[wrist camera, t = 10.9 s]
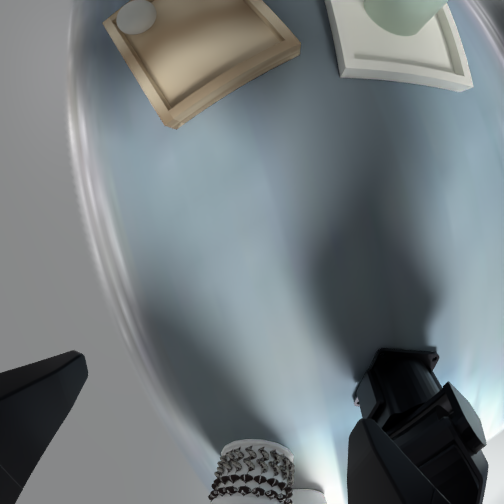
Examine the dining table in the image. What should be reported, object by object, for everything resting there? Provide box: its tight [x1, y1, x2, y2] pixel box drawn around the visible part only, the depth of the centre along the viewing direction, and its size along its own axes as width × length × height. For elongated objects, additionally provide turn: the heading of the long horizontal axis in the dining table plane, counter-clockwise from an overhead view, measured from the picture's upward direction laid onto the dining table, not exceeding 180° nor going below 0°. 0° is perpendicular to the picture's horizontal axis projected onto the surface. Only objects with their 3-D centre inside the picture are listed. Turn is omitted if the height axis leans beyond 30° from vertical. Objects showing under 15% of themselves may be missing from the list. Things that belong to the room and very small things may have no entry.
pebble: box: [116, 0, 157, 35], centre depth 14 cm, size 3×3×3 cm
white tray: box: [324, 0, 473, 92], centre depth 12 cm, size 12×10×2 cm
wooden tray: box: [102, 0, 301, 129], centre depth 15 cm, size 12×10×2 cm
